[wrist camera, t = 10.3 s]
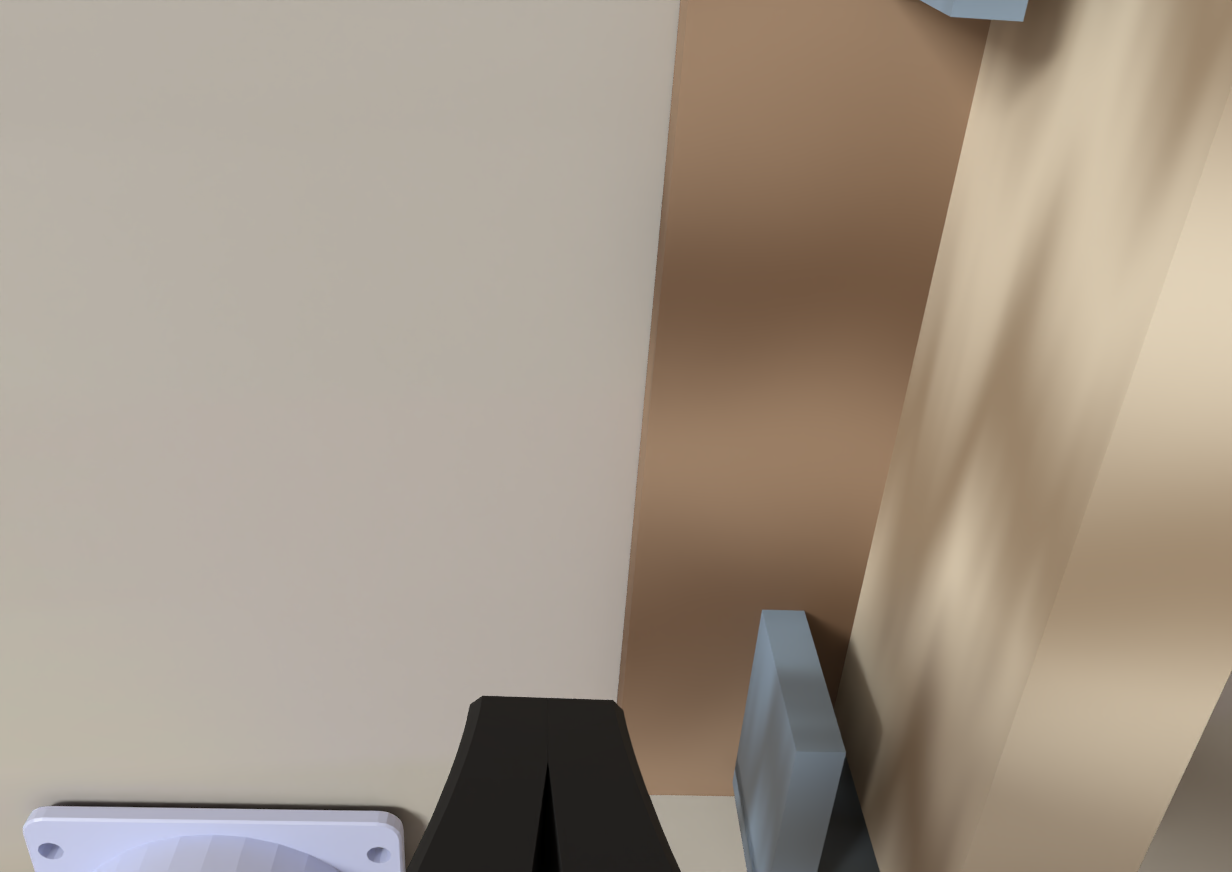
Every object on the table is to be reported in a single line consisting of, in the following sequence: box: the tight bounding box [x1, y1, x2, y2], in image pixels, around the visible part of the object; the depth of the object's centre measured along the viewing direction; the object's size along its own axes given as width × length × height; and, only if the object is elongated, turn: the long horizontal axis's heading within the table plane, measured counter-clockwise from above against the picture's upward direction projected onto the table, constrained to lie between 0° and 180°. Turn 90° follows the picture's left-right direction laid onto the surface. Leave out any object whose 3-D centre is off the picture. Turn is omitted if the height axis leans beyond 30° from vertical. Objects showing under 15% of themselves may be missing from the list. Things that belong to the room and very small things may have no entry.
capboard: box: [617, 0, 1028, 872], centre depth 16 cm, size 21×11×4 cm, turn 176°
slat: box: [834, 0, 1232, 872], centre depth 15 cm, size 16×2×6 cm, turn 176°
